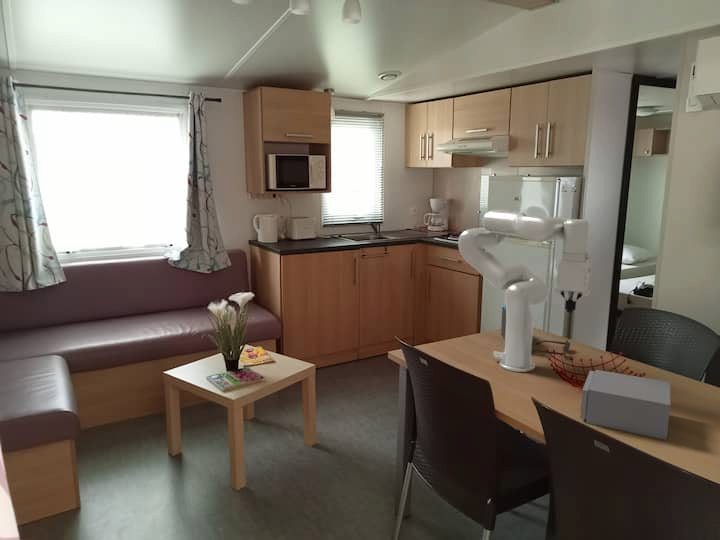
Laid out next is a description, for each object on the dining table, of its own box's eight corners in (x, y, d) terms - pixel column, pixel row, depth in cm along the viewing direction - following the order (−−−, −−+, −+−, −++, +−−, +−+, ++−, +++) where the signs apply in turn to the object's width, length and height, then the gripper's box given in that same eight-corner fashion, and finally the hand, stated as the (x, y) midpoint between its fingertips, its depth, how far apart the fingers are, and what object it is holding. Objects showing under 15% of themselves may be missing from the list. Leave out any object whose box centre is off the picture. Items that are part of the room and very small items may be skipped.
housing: (585, 422, 149) (588, 389, 148) (593, 399, 165) (595, 369, 163) (666, 440, 140) (670, 405, 138) (666, 413, 155) (669, 382, 153)
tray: (580, 417, 150) (582, 389, 149) (587, 396, 165) (589, 370, 164) (654, 433, 141) (657, 403, 140) (655, 409, 156) (658, 382, 154)
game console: (499, 332, 237) (500, 300, 234) (513, 332, 236) (515, 301, 234) (513, 352, 209) (515, 317, 206) (529, 353, 209) (531, 317, 206)
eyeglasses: (564, 361, 200) (564, 348, 199) (524, 355, 208) (525, 342, 207) (569, 350, 213) (570, 338, 212) (532, 344, 220) (533, 333, 219)
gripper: (600, 257, 170) (595, 312, 173) (552, 254, 177) (548, 306, 181) (597, 260, 164) (593, 317, 167) (548, 257, 171) (544, 311, 174)
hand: (570, 311), depth 174 cm, fingers closed
